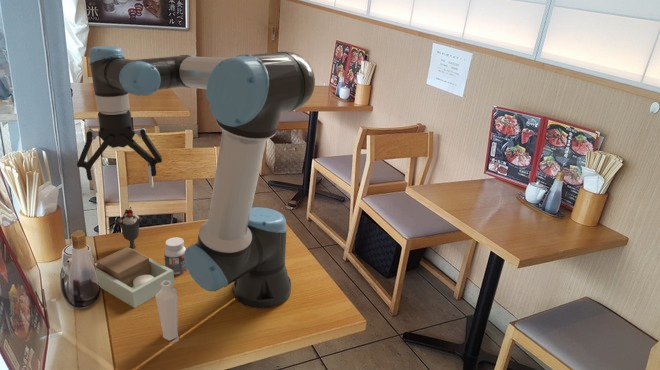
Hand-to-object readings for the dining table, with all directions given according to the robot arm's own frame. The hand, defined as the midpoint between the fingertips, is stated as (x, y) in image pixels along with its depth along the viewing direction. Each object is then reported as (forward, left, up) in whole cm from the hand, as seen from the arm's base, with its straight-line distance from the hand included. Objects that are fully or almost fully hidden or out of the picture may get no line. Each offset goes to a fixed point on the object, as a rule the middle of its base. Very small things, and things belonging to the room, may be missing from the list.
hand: (124, 189), depth 124 cm
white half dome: (-16, +8, -21) cm, 27 cm away
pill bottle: (-15, -3, -23) cm, 27 cm away
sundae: (+4, -3, -23) cm, 23 cm away
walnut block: (-8, +8, -21) cm, 24 cm away
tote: (-11, +8, -22) cm, 26 cm away
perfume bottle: (-34, +15, -23) cm, 43 cm away
